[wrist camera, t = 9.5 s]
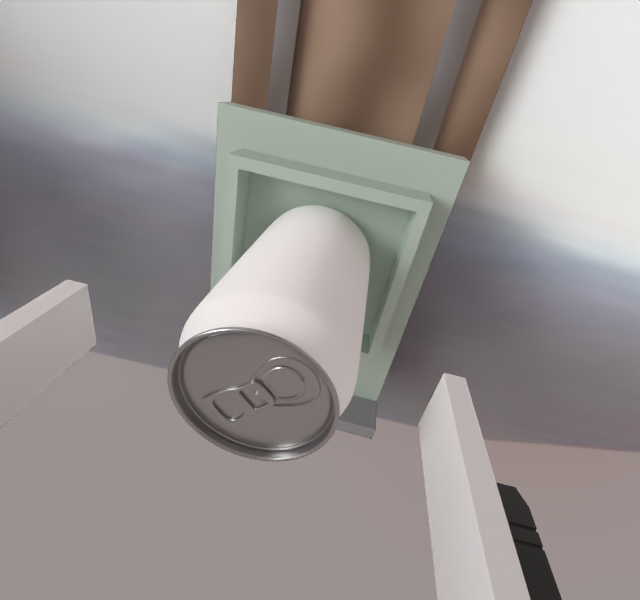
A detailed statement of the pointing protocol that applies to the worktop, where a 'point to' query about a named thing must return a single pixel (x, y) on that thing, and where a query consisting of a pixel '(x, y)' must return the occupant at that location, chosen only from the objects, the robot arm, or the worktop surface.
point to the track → (378, 64)
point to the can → (277, 340)
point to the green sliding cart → (346, 197)
